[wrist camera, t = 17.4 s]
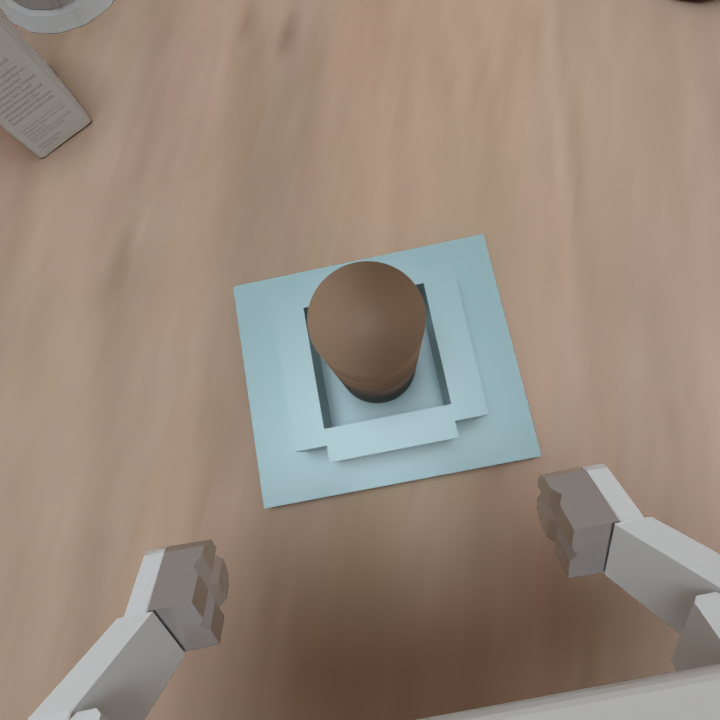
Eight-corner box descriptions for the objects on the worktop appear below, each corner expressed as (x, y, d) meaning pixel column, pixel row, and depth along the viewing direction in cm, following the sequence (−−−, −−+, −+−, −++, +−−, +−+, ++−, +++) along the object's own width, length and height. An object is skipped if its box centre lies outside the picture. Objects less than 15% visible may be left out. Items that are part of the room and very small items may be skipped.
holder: (269, 506, 25) (245, 516, 21) (239, 292, 27) (212, 265, 23) (535, 455, 24) (562, 456, 20) (480, 241, 27) (494, 205, 23)
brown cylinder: (346, 410, 24) (317, 387, 15) (333, 336, 25) (298, 274, 16) (422, 395, 24) (437, 363, 15) (406, 321, 25) (412, 250, 16)
